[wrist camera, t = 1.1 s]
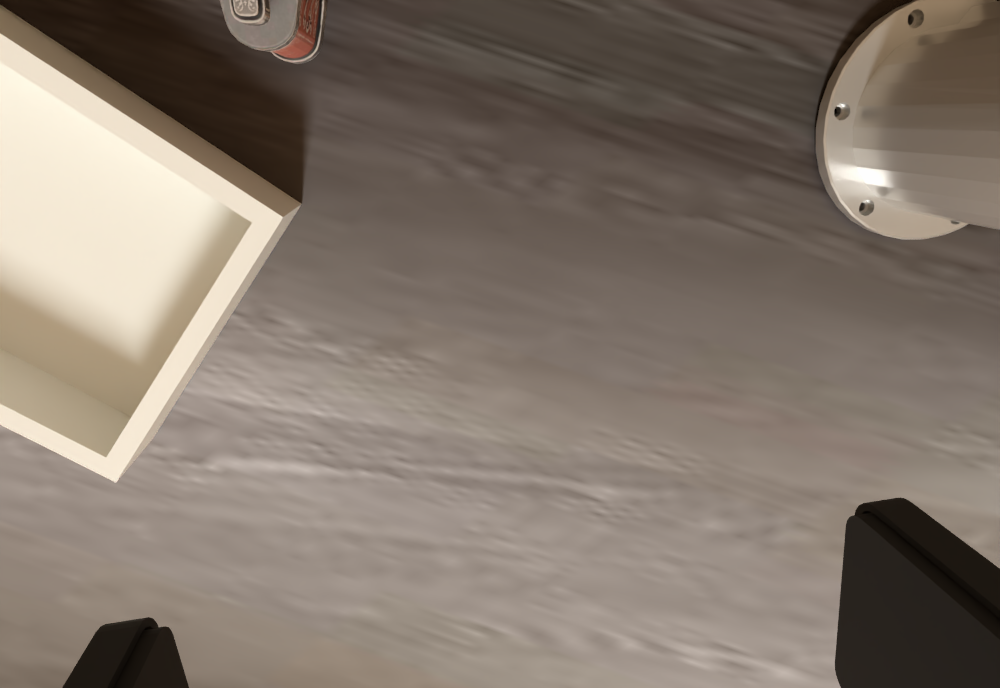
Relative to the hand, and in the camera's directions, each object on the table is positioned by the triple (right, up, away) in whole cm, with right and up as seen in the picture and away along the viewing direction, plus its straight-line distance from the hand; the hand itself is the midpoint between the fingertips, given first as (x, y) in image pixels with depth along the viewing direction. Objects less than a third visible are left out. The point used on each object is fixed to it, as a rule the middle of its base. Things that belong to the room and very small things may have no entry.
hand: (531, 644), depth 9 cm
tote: (-23, +10, +25) cm, 36 cm away
